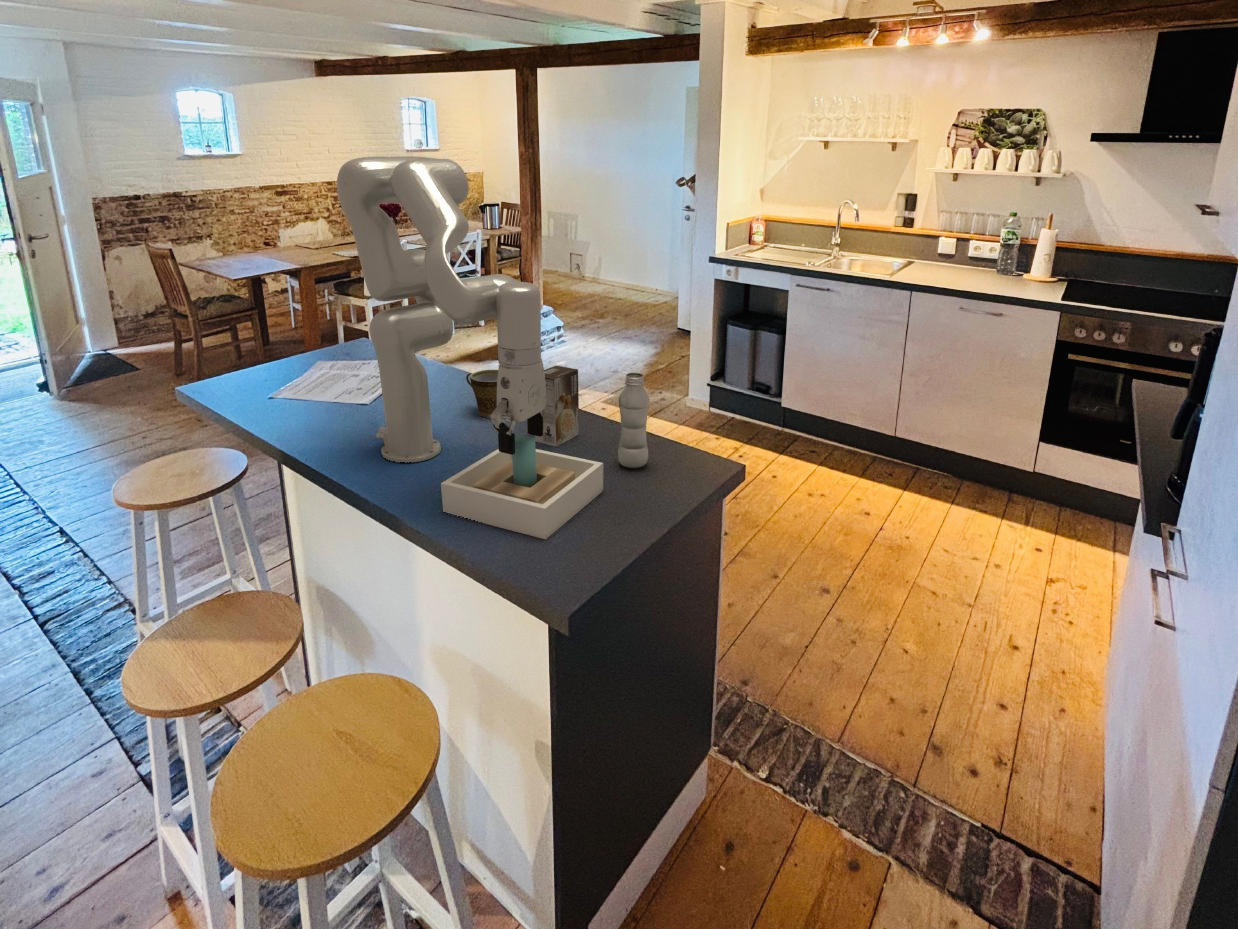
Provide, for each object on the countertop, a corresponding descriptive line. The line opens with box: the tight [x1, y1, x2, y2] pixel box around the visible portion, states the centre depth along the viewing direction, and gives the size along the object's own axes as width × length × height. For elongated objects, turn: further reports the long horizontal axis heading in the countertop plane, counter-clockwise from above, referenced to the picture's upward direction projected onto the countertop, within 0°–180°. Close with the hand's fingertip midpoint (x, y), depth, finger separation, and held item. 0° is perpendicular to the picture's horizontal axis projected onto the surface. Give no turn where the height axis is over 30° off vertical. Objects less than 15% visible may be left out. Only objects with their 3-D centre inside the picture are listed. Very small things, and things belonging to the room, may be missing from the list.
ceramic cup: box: [465, 369, 498, 419], centre depth 189 cm, size 13×10×10 cm
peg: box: [512, 434, 537, 488], centre depth 143 cm, size 4×4×12 cm
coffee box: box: [534, 365, 580, 448], centre depth 173 cm, size 9×6×16 cm
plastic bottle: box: [617, 372, 651, 469], centre depth 158 cm, size 6×7×20 cm
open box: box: [440, 448, 604, 540], centre depth 145 cm, size 22×22×6 cm
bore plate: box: [472, 460, 575, 504], centre depth 145 cm, size 14×14×4 cm
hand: (521, 443), depth 141 cm, fingers open, 9 cm apart
